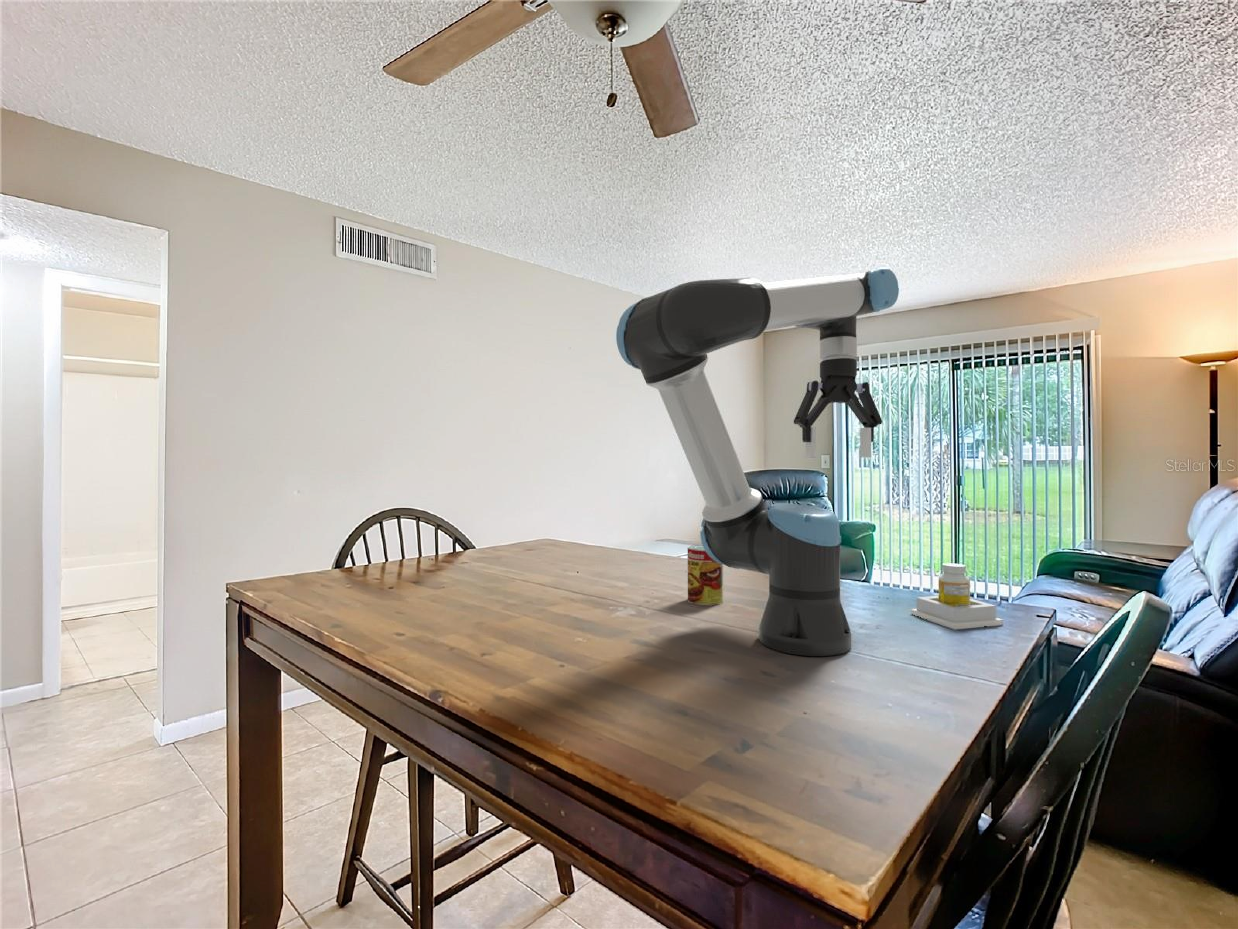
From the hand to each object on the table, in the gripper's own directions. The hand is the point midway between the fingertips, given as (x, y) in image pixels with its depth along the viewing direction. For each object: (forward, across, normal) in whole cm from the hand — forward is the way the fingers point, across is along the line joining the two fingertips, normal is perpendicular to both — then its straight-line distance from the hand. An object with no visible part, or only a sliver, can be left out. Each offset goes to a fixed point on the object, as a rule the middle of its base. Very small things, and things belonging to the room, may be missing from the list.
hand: (838, 457), depth 126 cm
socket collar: (+32, -14, +17) cm, 39 cm away
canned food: (+32, +27, -10) cm, 43 cm away
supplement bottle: (+31, -14, +17) cm, 38 cm away
